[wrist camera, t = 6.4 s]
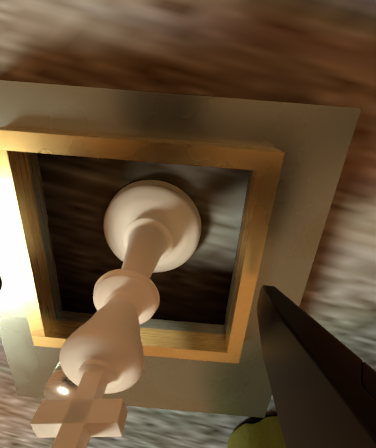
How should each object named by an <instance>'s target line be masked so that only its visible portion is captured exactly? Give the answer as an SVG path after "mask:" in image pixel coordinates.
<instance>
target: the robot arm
mask: <svg viewBox="0 0 376 448" xmlns="http://www.w3.org/2000/svg"><path fill="white" fill-rule="evenodd" d="M1 288H2V279H1V275H0V290H1ZM256 309H257V318H258V326H259V333H260V340H261V348H262V354H263V359H264V363H265V367H266V371H267V375H268V379H269V383H270V387H271V391H272V395H273V399H274V403H275V407H276V411H277V415H278V418H279V422H280V426H281V430H282V434H283V438H284V442H285V446H286V448H376V371H375V370H374V369H372V368H371V367H370V366H369V365H368V364H366V363H365V362H362V360H361V359H360V358H359V357H358V356H357V355H356V354H354V353H353V352H352V351H351V350H350V349H348V348H347V347H346V346H345V345H344V344H342V343H341V342H340V341H339V340H338V339H337V338H335V337H334V336H333V335H332V334H331V333H329V332H328V331H327V330H326V329H325V328H323V327H322V326H321V325H320V324H319V323H318V322H316V321H315V320H314V319H313V318H312V317H310V316H309V315H308V314H307V313H306V312H304V311H303V310H302V309H301V308H300V307H298V306H297V305H296V304H295V303H294V302H293V301H291V300H290V299H289V298H288V297H287V296H285V295H284V294H283V293H282V292H281V291H279V290H278V289H277V288H276V287H274V286H267V285H263V286H261V288H260V292H259V297H258V301H257V308H256Z"/></svg>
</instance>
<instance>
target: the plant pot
mask: <svg viewBox="0 0 376 448" xmlns="http://www.w3.org/2000/svg"><path fill="white" fill-rule="evenodd" d="M228 448H286V446H285V442H284V438H283V434H282V430H281V426H280V422H279V418H278V416H271V417H266V418H264V419H263V420H261V421H260V422H258V423H255V424H248V423H245V424H243V425H241V426H240V427H238V428H237V429H236V430H235V431H234V432H233V433H232V434H231V436H230V438H229V441H228Z"/></svg>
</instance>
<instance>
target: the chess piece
mask: <svg viewBox="0 0 376 448" xmlns="http://www.w3.org/2000/svg"><path fill="white" fill-rule="evenodd" d="M103 227H104V235H105V238H106V241H107V243H108V245H109V247H110V249H111V250H112V252H113V253H114V254H115V255H116V256H117V257H118V258H119V259H120V260H121V261H122V262H123V265H122V269H116V270H112V271H109V272H107V273H105V274H104V275H102V276H101V277H100V278H99V279H98V280H97V282H96V284H95V287H94V293H93V301H94V305H95V307H96V309H97V312H96V313H95V314H94V315H93V317H92V318H90V319H89V320H88V321H87V322H86V323H85V324H83V325H82V326H80V327H79V328H78V329H77V330H76V331H75V332H73V333H72V334H71V335H70V336H69V337H68V339H67V340H66V341H65V342H64V344H63V346H62V348H61V350H60V356H59V360H60V365H61V368H62V370H63V372H64V373H65V375H66V376H67V377H68V378H69V379H70V380H71V381H72V382H73V383H74V384H76V385H77V386H78V388H77V390H76V392H75V395H74V397H73V399H72V400H46V401H42V403H41V405H40V406H39V408H38V410H37V412H36V414H35V416H34V418H33V420H32V421H31V423H30V425H31V427H32V428H33V430H34V432H35V434H36V436H37V437H38V438H41V437H56V438H55V441H54V443H53V445H52V448H87V445H88V442H89V439H90V437H112V436H122V434H123V429H124V425H125V421H126V417H127V409H126V405H125V402H124V399H103V396H104V394H110V393H117V392H121V391H123V390H126V389H128V388H130V387H131V386H133V385H134V384H135V383H136V382H137V381H138V380H139V378H140V377H141V375H142V372H143V368H144V354H143V346H142V342H141V337H140V324H142V323H144V322H146V321H148V320H149V319H150V318H151V317H152V316H153V314H154V313H155V312H156V310H157V308H158V306H159V302H160V296H159V292H158V289H157V287H156V286H155V284H154V283H153V282H152V281H151V280H150V277H151V275H152V273H157V272H165V271H169V270H172V269H175V268H177V267H179V266H180V265H182V264H183V263H185V262H186V261H187V260H188V259H189V258H190V257H191V256H192V254H193V253H194V251H195V250H196V247H197V245H198V242H199V239H200V235H201V219H200V215H199V212H198V209H197V207H196V205H195V204H194V202H193V201H192V200H191V198H190V197H189V196H188V195H187V194H186V193H185V192H183V191H182V190H181V189H179V188H178V187H176V186H174V185H172V184H169V183H167V182H163V181H158V180H142V181H137V182H134V183H131V184H129V185H127V186H125V187H124V188H122V189H121V190H120V191H119V192H118V193H117V194H116V195H115V196H114V197H113V198H112V200H111V202H110V204H109V206H108V208H107V210H106V213H105V216H104V224H103Z"/></svg>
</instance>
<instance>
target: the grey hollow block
mask: <svg viewBox="0 0 376 448" xmlns="http://www.w3.org/2000/svg"><path fill="white" fill-rule="evenodd" d="M360 111H361V108H352V107H340V106H327V105H314V104H301V103H288V102H275V101H262V100H250V99H237V98H224V97H211V96H198V95H185V94H172V93H159V92H147V91H134V90H121V89H108V88H95V87H82V86H69V85H56V84H44V83H31V82H18V81H5V80H0V275H1V279H2V288H1V290H0V337H1V340H2V343H3V347H4V350H5V353H6V357H7V360H8V363H9V367H10V370H11V373H12V377H13V380H14V383H15V386H16V390H17V393H18V396H24V397H36V398H45V399H46V400H72V399H73V397H74V395H75V392H76V390H77V388H78V386H77V385H76V384H74V383H73V382H72V381H71V380H70V379H69V378H68V377H67V376H66V375H65V373H64V372H63V370H62V368H61V365H60V360H59V356H60V350H61V348H62V346H63V344H64V342H65V341H66V340H67V339H68V337H69V336H70V335H71V334H72V333H73V332H75V331H76V330H77V329H78V328H79V327H80V326H82V325H83V324H85V323H86V322H87V321H88V320H89V319H90V318H92V317H93V315H94V314H89V313H77V312H65V311H63V310H62V304H61V298H60V292H59V286H58V279H57V273H56V267H55V261H54V254H53V248H52V242H51V236H50V230H49V223H48V217H47V211H46V205H45V199H44V192H43V186H42V180H41V174H40V167H39V161H38V155H37V153H45V154H57V155H70V156H82V157H95V158H107V159H120V160H132V161H144V162H157V163H169V164H182V165H194V166H207V167H219V168H232V169H244V170H250V174H249V180H248V186H247V192H246V198H245V204H244V210H243V216H242V222H241V228H240V233H239V239H238V245H237V251H236V257H235V263H234V269H233V275H232V281H231V287H230V293H229V298H228V304H227V310H226V316H225V322H224V325H217V324H205V323H194V322H182V321H170V320H159V319H149V320H148V321H146V322H144V323H142V324H140V337H141V342H142V346H143V354H144V368H143V372H142V375H141V377H140V378H139V380H138V381H137V382H136V383H135V384H134V385H133V386H131V387H130V388H128V389H126V390H123V391H121V392H117V393H110V394H104V396H103V399H124V402H125V405H126V406H137V407H148V408H160V409H171V410H182V411H193V412H205V413H216V414H227V415H238V416H250V417H261V418H265V415H266V411H267V408H268V405H269V402H270V399H271V395H272V391H271V387H270V383H269V379H268V375H267V371H266V367H265V363H264V359H263V354H262V348H261V340H260V333H259V326H258V318H257V309H256V308H257V301H258V297H259V292H260V288H261V286H263V285H267V286H274V287H276V288H277V289H278V290H279V291H281V292H282V293H283V294H284V295H285V296H287V297H288V298H289V299H290V300H291V301H293V302H294V303H295V304H296V305H297V306H298V307H299V306H300V303H301V300H302V296H303V293H304V290H305V287H306V284H307V280H308V277H309V274H310V271H311V268H312V264H313V261H314V258H315V255H316V252H317V249H318V245H319V242H320V239H321V236H322V233H323V229H324V226H325V223H326V220H327V217H328V213H329V210H330V207H331V204H332V201H333V197H334V194H335V191H336V188H337V185H338V181H339V178H340V175H341V172H342V169H343V166H344V162H345V159H346V156H347V153H348V150H349V146H350V143H351V140H352V137H353V134H354V130H355V127H356V124H357V121H358V118H359V114H360Z"/></svg>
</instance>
